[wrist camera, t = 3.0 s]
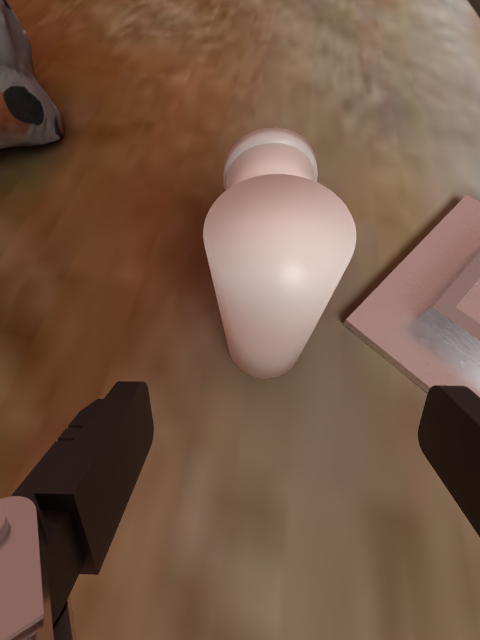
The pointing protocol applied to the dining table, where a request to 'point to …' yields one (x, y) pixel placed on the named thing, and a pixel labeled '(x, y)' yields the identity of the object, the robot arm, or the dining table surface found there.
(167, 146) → the dining table surface
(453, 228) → the plate
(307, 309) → the elbow
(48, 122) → the lucky cat figurine
